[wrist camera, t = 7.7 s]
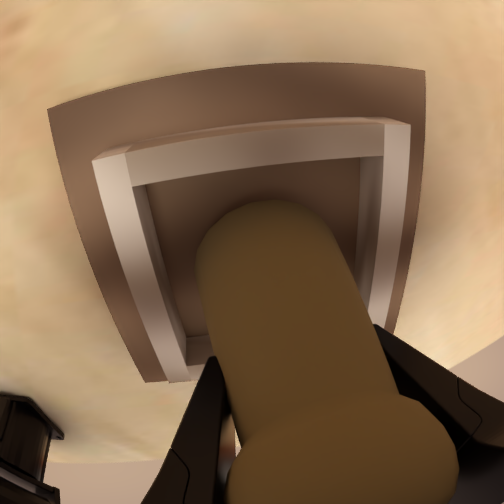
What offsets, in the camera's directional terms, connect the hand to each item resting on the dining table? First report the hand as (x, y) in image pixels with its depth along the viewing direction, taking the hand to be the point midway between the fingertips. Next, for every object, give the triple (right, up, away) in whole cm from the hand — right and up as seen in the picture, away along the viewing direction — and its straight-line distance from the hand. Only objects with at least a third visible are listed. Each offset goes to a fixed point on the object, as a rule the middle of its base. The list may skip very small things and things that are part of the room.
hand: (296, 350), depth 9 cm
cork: (-1, +2, +4) cm, 5 cm away
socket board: (-1, +4, +6) cm, 7 cm away
